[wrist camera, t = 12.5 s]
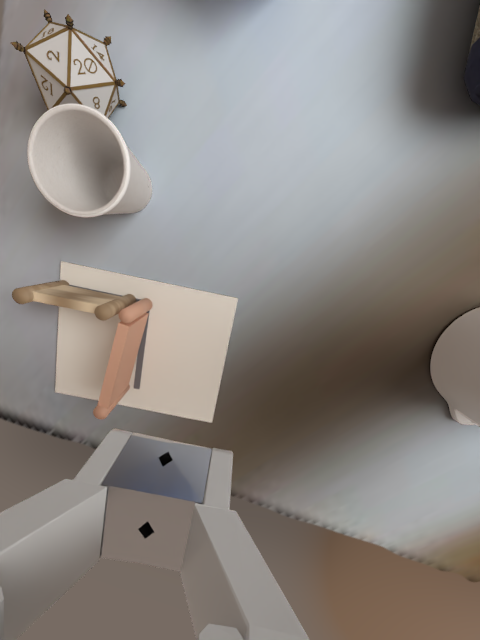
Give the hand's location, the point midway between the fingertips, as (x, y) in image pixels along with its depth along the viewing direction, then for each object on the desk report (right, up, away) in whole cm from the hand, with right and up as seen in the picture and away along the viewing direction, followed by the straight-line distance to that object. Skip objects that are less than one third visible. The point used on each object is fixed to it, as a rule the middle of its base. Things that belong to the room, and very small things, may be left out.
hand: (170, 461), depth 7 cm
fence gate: (-12, 0, +30) cm, 32 cm away
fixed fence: (-16, +7, +28) cm, 33 cm away
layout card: (-11, 0, +30) cm, 32 cm away
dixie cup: (-11, +19, +26) cm, 34 cm away
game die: (-13, +27, +23) cm, 38 cm away
